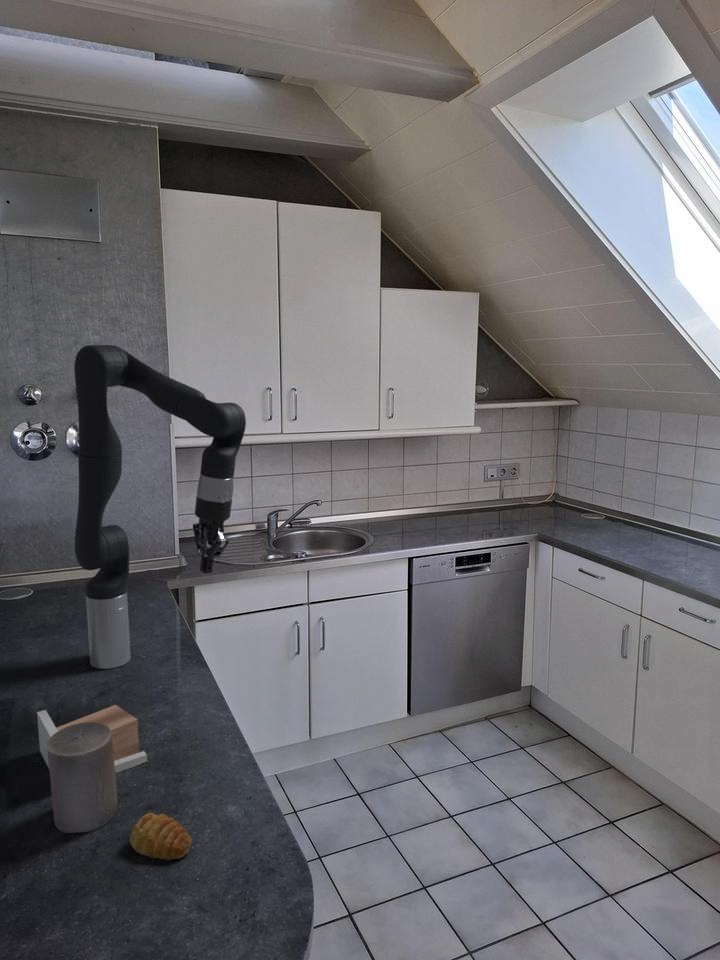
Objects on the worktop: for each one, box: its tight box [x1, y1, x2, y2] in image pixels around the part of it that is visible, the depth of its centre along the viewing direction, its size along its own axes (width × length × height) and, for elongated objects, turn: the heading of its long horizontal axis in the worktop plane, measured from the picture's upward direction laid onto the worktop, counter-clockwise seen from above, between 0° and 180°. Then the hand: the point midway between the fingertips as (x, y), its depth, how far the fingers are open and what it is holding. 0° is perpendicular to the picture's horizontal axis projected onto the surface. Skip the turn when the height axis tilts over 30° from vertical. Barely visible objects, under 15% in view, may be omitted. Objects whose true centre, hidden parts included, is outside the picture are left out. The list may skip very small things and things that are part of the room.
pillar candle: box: [47, 722, 119, 834], centre depth 112 cm, size 10×10×15 cm
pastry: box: [129, 812, 193, 859], centre depth 106 cm, size 9×7×4 cm
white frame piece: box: [36, 709, 148, 774], centre depth 128 cm, size 15×15×8 cm
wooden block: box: [56, 704, 140, 761], centre depth 128 cm, size 8×12×7 cm, turn 138°
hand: (205, 572), depth 152 cm, fingers closed
